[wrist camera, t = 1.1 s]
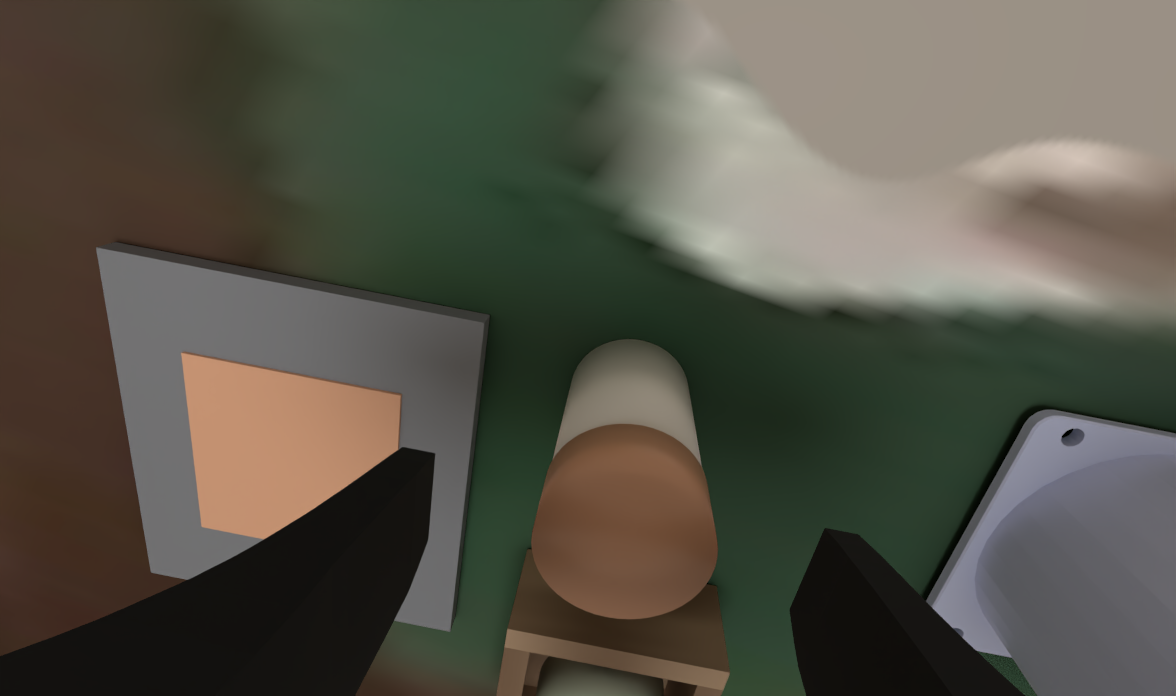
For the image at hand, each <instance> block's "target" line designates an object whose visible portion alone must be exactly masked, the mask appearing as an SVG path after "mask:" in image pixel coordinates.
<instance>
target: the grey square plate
mask: <svg viewBox="0 0 1176 696" xmlns="http://www.w3.org/2000/svg"><path fill="white" fill-rule="evenodd" d="M96 250H97V256H98V262H99V267H100V273H101V279H102V285H103V291H104V297H105V303H106V309H107V315H108V321H109V327H110V333H111V339H112V344H113V350H114V356H115V362H116V368H117V374H118V380H119V386H120V392H121V398H122V404H123V410H124V415H125V421H126V427H127V433H128V439H129V445H130V451H131V457H132V463H133V469H134V475H135V481H136V487H137V492H138V498H139V504H140V510H141V516H142V522H143V528H144V534H145V540H146V546H147V552H148V558H149V563H150V569H151V573H156V574H161V575H166V576H171V577H176V578H181V579H186V580H188V579H190V578H193V577H195V576H197V575H199V574H201V573H203V572H204V571H206V570H208V569H210V568H212V567H214V566H216V565H218V564H220V563H222V562H224V561H226V560H228V559H230V558H232V557H234V556H236V555H237V554H239V553H241V552H243V551H245V550H246V549H248V548H250V547H252V546H254V545H255V544H257V543H259V542H260V541H262V540H264V539H265V538H267V537H269V536H270V535H272V534H274V533H275V532H277V531H279V530H280V529H282V528H283V527H285V526H287V525H288V524H290V523H292V522H293V521H295V520H297V519H298V518H300V517H301V516H303V515H305V514H306V513H308V512H309V511H311V510H312V509H314V508H315V507H317V506H318V505H320V504H321V503H323V502H324V501H326V500H327V499H329V498H330V497H332V496H333V495H334V494H336V493H337V492H339V491H340V490H342V489H343V488H345V487H346V486H348V485H349V484H351V483H352V482H353V481H355V480H356V479H358V478H359V477H360V476H362V475H363V474H365V473H366V472H367V471H369V470H370V469H372V468H373V467H374V466H376V465H377V464H379V463H380V462H381V461H383V460H384V459H385V458H387V457H388V456H390V455H391V454H393V453H394V452H395V451H397V450H399V449H400V448H402V447H406V448H411V449H417V450H422V451H427V452H432V453H435V465H434V477H433V489H432V501H431V513H430V526H429V538H428V542H427V545H426V548H425V550H424V553H423V556H422V558H421V561H420V564H419V567H418V569H417V572H416V574H415V577H414V579H413V582H412V585H411V587H410V590H409V592H408V594H407V596H406V598H405V600H404V602H403V604H402V606H401V608H400V610H399V612H398V614H397V616H396V617H395V619H394V621H399V622H404V623H409V624H414V625H419V626H424V627H429V628H434V629H439V630H444V631H449V632H450V631H451V628H452V625H453V622H454V619H455V616H456V607H457V599H458V590H459V581H460V573H461V564H462V555H463V546H464V538H465V529H466V520H467V511H468V503H469V494H470V485H471V477H472V468H473V459H474V450H475V442H476V433H477V424H478V416H479V407H480V398H481V389H482V381H483V372H484V363H485V355H486V346H487V337H488V328H489V320H490V315H488V314H483V313H478V312H473V311H467V310H462V309H457V308H452V307H447V306H442V305H437V304H431V303H426V302H421V301H416V300H411V299H406V298H401V297H395V296H390V295H385V294H380V293H375V292H370V291H365V290H359V289H354V288H349V287H344V286H339V285H334V284H329V283H324V282H318V281H313V280H308V279H303V278H298V277H293V276H288V275H282V274H277V273H272V272H267V271H262V270H257V269H252V268H246V267H241V266H236V265H231V264H226V263H221V262H216V261H210V260H205V259H200V258H195V257H190V256H185V255H180V254H174V253H169V252H164V251H159V250H154V249H149V248H144V247H139V246H133V245H128V244H123V243H118V242H114V243H110V244H107V245H103V246H100V247H96Z"/></svg>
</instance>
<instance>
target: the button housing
mask: <svg viewBox="0 0 1176 696" xmlns="http://www.w3.org/2000/svg"><path fill="white" fill-rule="evenodd" d="M549 656H552V657H557V658H562V659H567V660H572V661H577V662H582V663H587V664H592V665H597V666H602V667H607V668H612V669H617V670H622V671H627V672H633V673H638V674H643V675H648V676H653V677H658V678H662V679H663V684H664V696H721V694H722V692H723V689H724V687H725V684H726V682H727V679H728V677H729V674H730V670H729V663H728V657H727V650H726V644H725V637H724V631H723V625H722V618H721V612H720V605H719V599H718V592H717V586H714V585H708V584H706V586H705V587H704V588H703V589H702V590H701V591H700V592H699V593H698V594H697V595H696V596H695V597H694V598H693V599H692V600H690V601H689V602H687V603H686V604H684V605H683V606H681V607H679V608H677V609H675V610H673V611H670V612H667V613H665V614H662V615H658V616H654V617H649V618H642V619H616V618H609V617H604V616H600V615H596V614H593V613H590V612H587V611H584V610H582V609H580V608H578V607H576V606H574V605H572V604H571V603H569V602H567V601H566V600H564V599H563V598H562V597H560V596H559V595H558V594H557V593H556V592H555V591H554V590H553V589H551V588H550V587H549V585H548V584H547V583H546V582H545V580H544V579H543V578H542V576H541V574H540V572H539V571H538V569H537V566H536V564H535V561H534V558H533V554H532V550H531V549H527V553H526V557H525V561H524V565H523V569H522V573H521V577H520V581H519V585H518V589H517V593H516V597H515V601H514V605H513V609H512V613H511V617H510V621H509V625H508V629H507V635H506V641H505V647H504V653H503V659H502V665H501V671H500V677H499V683H498V689H497V695H496V696H536V690H537V685H538V679H539V673H540V670H541V667H542V665H543V663H544V661H545V660H546V659H547V658H548V657H549Z"/></svg>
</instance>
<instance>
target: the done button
mask: <svg viewBox="0 0 1176 696" xmlns="http://www.w3.org/2000/svg"><path fill="white" fill-rule="evenodd" d="M536 696H664V684H663V679H662V678H658V677H653V676H648V675H643V674H638V673H633V672H627V671H622V670H617V669H612V668H607V667H602V666H597V665H592V664H587V663H582V662H577V661H572V660H567V659H562V658H557V657H552V656H549V657H548V658H547V659H546V660H545V661H544V663H543V665H542V667H541V670H540V673H539V679H538V685H537V690H536Z"/></svg>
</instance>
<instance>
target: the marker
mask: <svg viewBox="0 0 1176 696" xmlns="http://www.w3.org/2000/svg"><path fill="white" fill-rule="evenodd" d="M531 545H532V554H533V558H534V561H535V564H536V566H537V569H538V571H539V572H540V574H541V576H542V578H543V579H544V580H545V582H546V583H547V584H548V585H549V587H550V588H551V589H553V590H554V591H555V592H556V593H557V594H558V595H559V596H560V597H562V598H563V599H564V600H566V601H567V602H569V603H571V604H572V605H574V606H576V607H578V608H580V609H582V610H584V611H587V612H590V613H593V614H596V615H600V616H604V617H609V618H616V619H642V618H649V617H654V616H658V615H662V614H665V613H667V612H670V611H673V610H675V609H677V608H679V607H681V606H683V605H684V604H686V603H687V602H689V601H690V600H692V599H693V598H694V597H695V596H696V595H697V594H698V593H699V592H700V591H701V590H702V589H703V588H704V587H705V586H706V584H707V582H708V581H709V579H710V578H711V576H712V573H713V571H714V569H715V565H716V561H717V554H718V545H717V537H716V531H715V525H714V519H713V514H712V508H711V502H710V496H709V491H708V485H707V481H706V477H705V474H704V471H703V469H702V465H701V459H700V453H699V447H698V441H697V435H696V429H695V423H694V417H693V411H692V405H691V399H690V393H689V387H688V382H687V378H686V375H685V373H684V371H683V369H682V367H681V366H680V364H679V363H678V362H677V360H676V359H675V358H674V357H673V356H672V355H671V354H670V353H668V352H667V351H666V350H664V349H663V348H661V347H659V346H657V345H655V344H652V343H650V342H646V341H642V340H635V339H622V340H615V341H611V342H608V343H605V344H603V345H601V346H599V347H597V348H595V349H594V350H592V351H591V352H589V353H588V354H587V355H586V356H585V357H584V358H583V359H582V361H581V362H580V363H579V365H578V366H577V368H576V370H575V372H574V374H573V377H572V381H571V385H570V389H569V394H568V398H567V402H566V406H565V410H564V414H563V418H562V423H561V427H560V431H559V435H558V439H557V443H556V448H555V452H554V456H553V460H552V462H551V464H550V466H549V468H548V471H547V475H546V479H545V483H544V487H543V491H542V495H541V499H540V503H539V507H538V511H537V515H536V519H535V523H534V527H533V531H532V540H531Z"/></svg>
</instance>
